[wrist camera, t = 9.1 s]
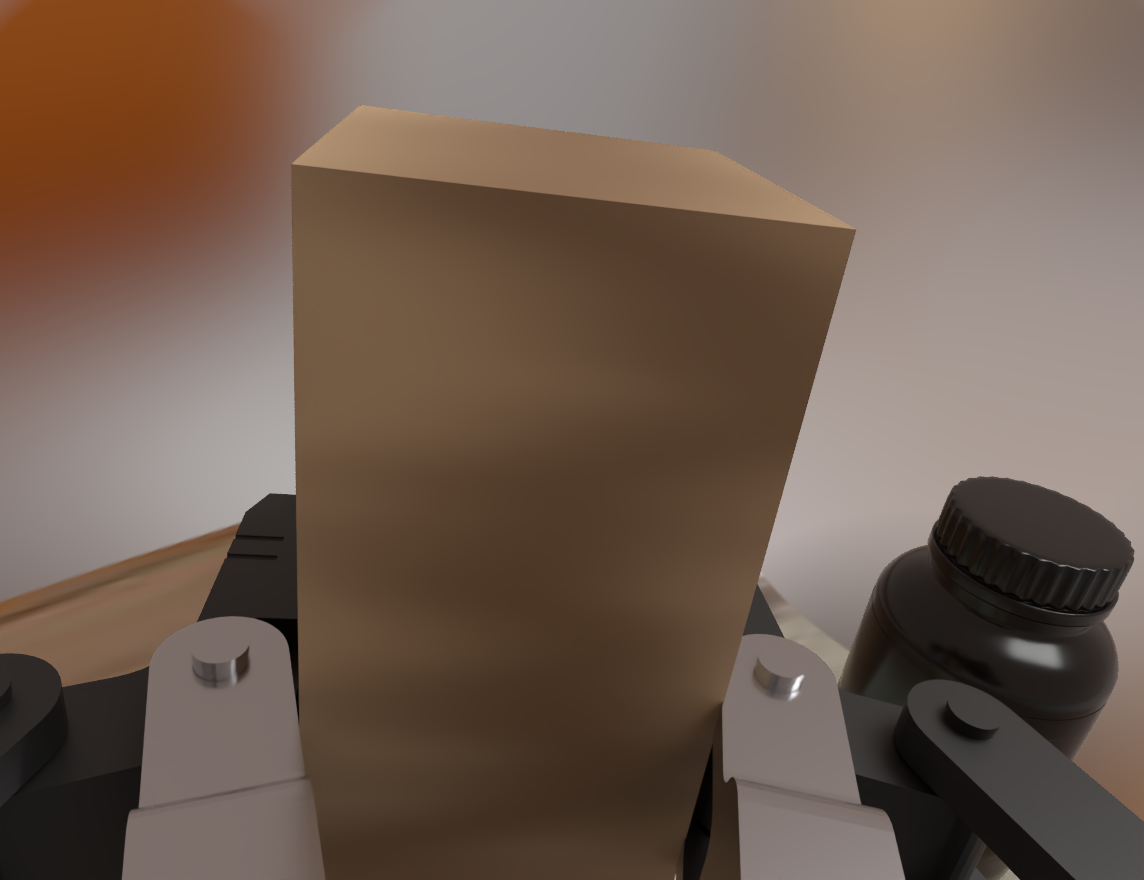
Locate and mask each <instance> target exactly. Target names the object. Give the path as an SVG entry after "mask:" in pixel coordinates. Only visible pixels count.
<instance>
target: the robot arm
mask: <svg viewBox="0 0 1144 880" xmlns="http://www.w3.org/2000/svg"><path fill="white" fill-rule="evenodd" d="M986 846H988V847H989V848H990V849H991V850H992V851H993V852H994V853H995V854H996V855H997V856H998V857H999V859H1000V860H1001V861H1002V862H1003V863H1004V864H1005V865H1006V866H1007V867H1008V868H1009V869H1010V870H1011V871H1012V872H1013V873H1014V874H1015V875H1016V876H1017V877H1018V878H1019V879H1020V880H1144V821H1142V820H1141V819H1140V818H1139V817H1138V816H1136V815H1135V814H1134V813H1133V812H1132V811H1130V810H1129V809H1128V808H1127V807H1126V806H1124V805H1123V804H1122V803H1121V802H1120V801H1119V800H1117V799H1116V798H1115V797H1114V796H1113V795H1112V794H1110V793H1109V792H1108V791H1107V790H1106V789H1104V788H1103V787H1102V786H1101V785H1100V784H1098V783H1097V782H1096V781H1095V780H1094V779H1092V778H1091V777H1090V776H1089V775H1088V774H1087V773H1085V772H1084V771H1083V770H1081V768H1079V767H1078V766H1077V765H1076V764H1075V763H1073V762H1072V761H1071V760H1070V759H1069V758H1068V757H1066V756H1065V755H1064V754H1063V753H1062V752H1061V751H1059V750H1058V749H1057V748H1056V747H1055V746H1053V745H1052V744H1051V743H1050V742H1049V741H1047V740H1046V739H1045V738H1044V737H1043V736H1042V735H1040V734H1039V733H1038V732H1037V731H1036V730H1034V729H1033V728H1032V727H1031V726H1030V725H1029V724H1027V723H1026V722H1025V721H1024V720H1023V719H1021V718H1020V717H1019V716H1018V715H1017V714H1015V713H1014V712H1013V711H1012V710H1011V709H1010V708H1008V707H1007V706H1006V705H1004V704H1003V703H1002V702H1000V701H999V700H997V699H996V698H994V697H992V696H991V695H989V694H987V693H985V692H983V691H981V690H979V689H977V688H974V687H972V686H969V685H966V684H963V683H959V682H955V681H950V680H928V681H923V682H921V683H919V684H917V685H916V686H914V687H913V688H912V689H911V691H910V692H909V695H908V697H907V699H906V702H905V704H904V707H902V706H898V705H895V704H891V703H887V702H883V701H879V700H875V699H872V698H868V697H864V696H860V695H857V694H853V693H850V692H847V691H844V690H842V689H839V688H838V686H837V682H836V679H835V676H834V674H833V673H832V671H831V669H830V668H829V667H828V665H827V664H826V663H825V662H824V661H823V660H822V659H821V658H820V657H819V656H817V655H816V654H815V653H814V652H812V651H811V650H809V649H807V648H806V647H804V646H802V645H800V644H798V643H796V642H794V641H791V640H789V639H786V638H784V636H783V634H782V632H781V630H780V628H779V626H778V624H777V622H776V620H775V618H774V616H773V614H772V612H771V610H770V608H769V606H768V604H767V602H766V600H765V598H764V596H763V594H762V592H761V590H760V588H759V586H758V584H757V586H756V590H755V593H754V597H753V600H752V604H751V607H750V611H749V615H748V618H747V622H746V625H745V629H744V632H743V636H742V640H741V643H740V647H739V650H738V654H737V657H736V661H735V665H734V668H733V672H732V675H731V679H730V682H729V686H728V690H727V693H726V697H725V700H724V702H722V704H721V707H720V711H719V715H718V718H717V722H716V725H715V729H714V733H713V743H712V747H711V750H710V754H709V757H708V761H707V765H706V768H705V772H704V775H703V779H702V783H701V786H700V790H699V793H698V797H697V800H696V804H695V808H694V811H693V815H692V818H691V822H690V825H689V829H688V833H687V836H686V838H684V840H683V844H682V847H681V851H680V854H679V858H678V862H677V865H676V880H987V879H986V878H985V877H984V876H983V875H982V873H981V872H980V871H979V870H978V869H977V868H976V866H977V864H978V862H979V860H980V858H981V856H982V854H983V852H984V850H985V848H986ZM0 880H325V873H324V865H323V858H322V851H321V844H320V836H319V829H318V822H317V814H316V807H315V800H314V793H313V787H312V782H311V778H310V775H305V769H304V761H303V753H302V746H301V738H300V730H299V664H298V596H297V528H296V495H288V494H269V495H267V496H266V497H265V498H264V499H262V500H261V501H259V502H258V503H257V504H256V505H254V506H253V507H252V508H250V509H249V510H248V511H247V512H246V513H245V515H244V517H243V520H242V522H241V524H240V526H239V529H238V531H237V533H236V538H235V539H234V540H233V542H232V544H231V547H230V549H229V551H228V553H227V558H225V560H224V562H223V565H222V567H221V569H220V571H219V574H218V576H217V578H216V580H215V583H214V585H213V587H212V589H211V592H210V594H209V596H208V598H207V601H206V603H205V605H204V607H203V610H202V612H201V614H200V616H199V619H198V621H197V622H196V623H194V624H191V625H189V626H186V627H184V628H183V629H181V630H179V631H177V632H175V633H174V634H172V635H171V636H170V637H168V638H167V639H166V640H165V641H164V642H163V643H162V644H160V646H159V647H158V648H157V650H156V651H155V652H154V654H153V656H152V659H151V662H150V666H149V667H146V668H144V669H142V670H139V671H136V672H133V673H130V674H126V675H122V676H118V677H114V678H108V679H103V680H98V681H93V682H88V683H82V684H77V685H72V686H67V687H62V684H61V679H60V676H59V674H58V672H57V670H56V669H55V668H54V667H53V666H52V665H51V664H49V663H48V662H46V661H44V660H42V659H40V658H37V657H34V656H29V655H24V654H12V653H10V654H0Z"/></svg>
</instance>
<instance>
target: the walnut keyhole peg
mask: <svg viewBox="0 0 1144 880" xmlns="http://www.w3.org/2000/svg"><path fill="white" fill-rule="evenodd" d="M291 181H292V182H291V184H292V185H291V186H292V255H293V322H294V386H295V387H294V390H295V391H294V392H295V457H296V459H295V460H296V528H297V596H298V664H299V730H300V738H301V746H302V753H303V761H304V769H305V775H310V778H311V782H312V787H313V793H314V800H315V807H316V814H317V822H318V829H319V836H320V844H321V851H322V858H323V865H324V873H325V880H674V879H675V875H676V865H677V862H678V858H679V854H680V851H681V847H682V844H683V840H684V838H686V836H687V833H688V829H689V825H690V822H691V818H692V815H693V811H694V808H695V804H696V800H697V797H698V793H699V790H700V786H701V783H702V779H703V775H704V772H705V768H706V765H707V761H708V757H709V754H710V750H711V747H712V743H713V733H714V729H715V725H716V722H717V718H718V715H719V711H720V707H721V704H722V702H724V700H725V697H726V693H727V690H728V686H729V682H730V679H731V675H732V672H733V668H734V665H735V661H736V657H737V654H738V650H739V647H740V643H741V640H742V636H743V632H744V629H745V625H746V622H747V618H748V615H749V611H750V607H751V604H752V600H753V597H754V593H755V590H756V586H757V582H758V579H759V575H760V572H761V568H762V564H763V561H764V557H765V554H766V550H767V547H768V543H769V539H770V536H771V532H772V529H773V525H774V522H775V518H776V514H777V511H778V507H779V504H780V500H781V497H782V493H783V489H784V486H785V482H786V479H787V475H788V471H789V468H790V464H791V461H792V457H793V454H794V450H795V447H796V442H797V439H798V435H799V432H800V429H801V425H802V422H803V418H804V414H805V411H806V407H807V404H808V400H809V396H810V393H811V389H812V386H813V382H814V379H815V375H816V371H817V368H818V364H819V361H820V357H821V353H822V350H823V346H824V343H825V339H826V336H827V332H828V329H829V325H830V321H831V318H832V314H833V310H834V307H835V304H836V300H837V296H838V293H839V289H840V286H841V282H842V279H843V275H844V271H845V268H846V264H847V261H848V257H849V254H850V250H851V246H852V242H853V239H854V235H855V232H856V229H855V228H853V227H851V226H849V225H847V224H846V223H844V222H842V221H840V220H838V219H837V218H835V217H833V216H831V215H829V214H827V213H826V212H824V211H822V210H820V209H819V208H817V207H815V206H813V205H811V204H810V203H808V202H806V201H804V200H802V199H801V198H799V197H797V196H795V195H793V194H792V193H790V192H788V191H786V190H784V189H783V188H781V187H779V186H777V185H775V184H774V183H772V182H770V181H768V180H766V179H764V178H763V177H761V176H759V175H757V174H756V173H754V172H752V171H750V170H748V169H747V168H745V167H743V166H741V165H739V164H738V163H736V162H734V161H732V160H730V159H729V158H727V157H725V156H723V155H721V154H720V153H718V152H716V151H713V150H705V149H698V148H690V147H681V146H674V145H667V144H658V143H651V142H643V141H635V140H627V139H619V138H611V137H604V136H596V135H588V134H581V133H573V132H565V131H557V130H549V129H540V128H534V127H526V126H518V125H510V124H502V123H495V122H487V121H478V120H471V119H463V118H456V117H447V116H440V115H432V114H424V113H416V112H409V111H401V110H392V109H385V108H378V107H370V106H362V105H360V106H359V107H358V108H357V109H356V110H354V111H353V112H352V113H351V114H350V115H348V116H347V117H346V118H345V119H344V120H342V121H341V122H340V123H339V124H338V125H337V126H335V127H334V128H333V129H332V130H331V131H330V132H328V133H327V134H326V135H325V136H324V137H322V138H321V139H320V140H319V141H318V142H317V143H316V144H314V145H313V146H312V147H311V148H309V149H308V150H307V151H306V152H305V153H304V154H302V155H301V156H300V157H299V158H298V159H296V160H295V161H294V162H293V163H292V164H291Z"/></svg>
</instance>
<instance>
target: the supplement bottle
mask: <svg viewBox="0 0 1144 880" xmlns="http://www.w3.org/2000/svg"><path fill="white" fill-rule="evenodd" d="M1133 555H1134V549H1133V548H1132V547H1131V542H1130V541H1129V540H1128V539H1127V538H1126V537H1125V535H1124V533H1123V532H1122V531H1120V530H1119V529H1117V528H1116V526H1115V525H1114V524H1113V523H1112V522H1110V521H1109V520H1107V519H1106V518H1105V517H1104V516H1102V515H1101V514H1099V513H1097V512H1095V511H1094V510H1092V509H1091V508H1089V507H1088V506H1086V505H1084V504H1081V503H1079V502H1077V501H1076V500H1074V499H1072V498H1070V497H1067V496H1064V495H1062V494H1060V493H1058V492H1056V491H1053V490H1049V489H1046V488H1044V487H1041V486H1039V485H1034V484H1030V483H1027V482H1024V481H1017V480H1012V479H1009V478H998V477H977V478H968V479H967V480H966V481H960V482H959V484H958V485H955V486H954V487H953V488H952V490H951V492H950V494H949V496H948V497H947V500H946V502H945V505H944V507H943V510H942V512H941V515H940V517H939V519H938V520H937V521H936V523H935V524H934V526H933V528H932V531H931V533H930V536H929V538H928V545H925V546H920V547H917V548H914V549H911V550H909V551H907V552H905V553H904V554H901V555H900V556H898V557H897V558H896V559H894V560H893V561H892V562H891V563H889V564H888V565H887V566H886V567H885V568H884V570H883V571H882V573H881V574H880V576H879V578H878V580H877V583H876V585H875V587H874V589H873V592H872V594H871V597H870V599H869V602H868V605H867V607H866V610H865V613H864V615H863V618H862V621H861V624H860V626H859V629H858V632H857V634H856V637H855V639H854V642H853V645H852V647H851V650H850V653H849V655H848V658H847V661H846V663H845V666H844V669H843V671H842V674H841V677H840V679H839V682H838V685H837V686H838V688H839V689H842V690H844V691H847V692H850V693H853V694H857V695H860V696H864V697H868V698H872V699H875V700H879V701H883V702H887V703H891V704H895V705H898V706H902V707H904V704H905V702H906V699H907V697H908V695H909V692H910V691H911V689H912V688H913V687H914V686H916V685H917V684H919V683H921V682H923V681H928V680H950V681H955V682H959V683H963V684H966V685H969V686H972V687H974V688H977V689H979V690H981V691H983V692H985V693H987V694H989V695H991V696H992V697H994V698H996V699H997V700H999V701H1000V702H1002V703H1003V704H1004V705H1006V706H1007V707H1008V708H1010V709H1011V710H1012V711H1013V712H1014V713H1015V714H1017V715H1018V716H1019V717H1020V718H1021V719H1023V720H1024V721H1025V722H1026V723H1027V724H1029V725H1030V726H1031V727H1032V728H1033V729H1034V730H1036V731H1037V732H1038V733H1039V734H1040V735H1042V736H1043V737H1044V738H1045V739H1046V740H1047V741H1049V742H1050V743H1051V744H1052V745H1053V746H1055V747H1056V748H1057V749H1058V750H1059V751H1061V752H1062V753H1063V754H1064V755H1065V756H1066V757H1068V758H1069V759H1070V760H1071V761H1072V762H1073V760H1074V758H1075V756H1076V754H1077V753H1078V751H1079V749H1080V748H1081V746H1082V744H1083V743H1084V741H1085V739H1086V737H1087V736H1088V734H1089V732H1090V731H1091V729H1092V727H1093V725H1094V724H1095V722H1096V720H1097V719H1098V717H1099V715H1100V713H1101V712H1102V710H1103V708H1104V707H1105V705H1106V702H1107V701H1108V699H1109V697H1110V695H1111V693H1112V691H1113V689H1114V687H1115V684H1116V681H1117V677H1118V656H1117V651H1116V647H1115V643H1114V641H1113V638H1112V635H1111V634H1110V631H1109V630H1108V628H1107V626H1106V624H1105V623H1104V620H1105V619H1106V618H1107V617H1108V616H1109V615H1110V613H1111V612H1112V610H1113V608H1114V607H1115V604H1116V603H1117V601H1118V597H1119V592H1118V590H1119V589H1120V587H1121V585H1122V583H1123V581H1124V580H1125V578H1126V576H1127V574H1128V572H1129V570H1130V568H1131V566H1132V564H1133V561H1134V557H1133ZM976 868H977V869H978V870H979V871H980V872H981V873H982V875H983V876H984V877H985V878H986V879H987V880H999V879H1000V878H1001V877H1002V876H1003V875H1004V874H1005V873H1006V872H1007V870H1008V869H1009V868H1008V867H1007V866H1006V865H1005V864H1004V863H1003V862H1002V861H1001V860H1000V859H999V857H998V856H997V855H996V854H995V853H994V852H993V851H992V850H991V849H990V848H989V847H988V846H986V848H985V850H984V852H983V854H982V856H981V858H980V860H979V862H978V864H977V866H976Z"/></svg>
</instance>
